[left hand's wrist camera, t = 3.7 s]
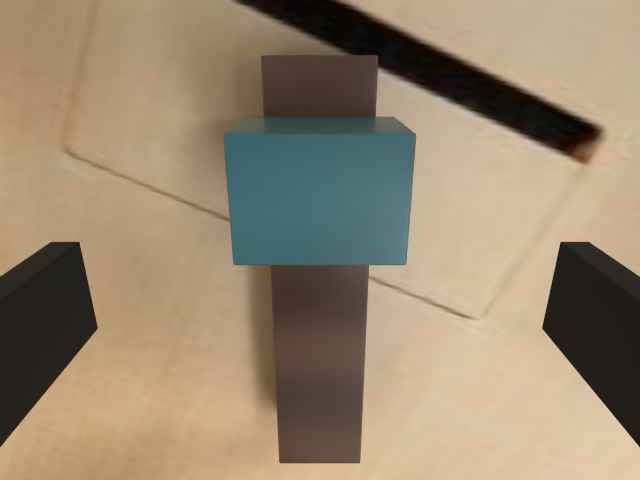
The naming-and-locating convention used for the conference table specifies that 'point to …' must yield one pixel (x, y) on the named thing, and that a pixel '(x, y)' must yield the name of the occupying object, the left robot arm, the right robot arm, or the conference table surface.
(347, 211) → the cap block
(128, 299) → the conference table surface
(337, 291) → the tall bronze post
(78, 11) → the conference table surface
